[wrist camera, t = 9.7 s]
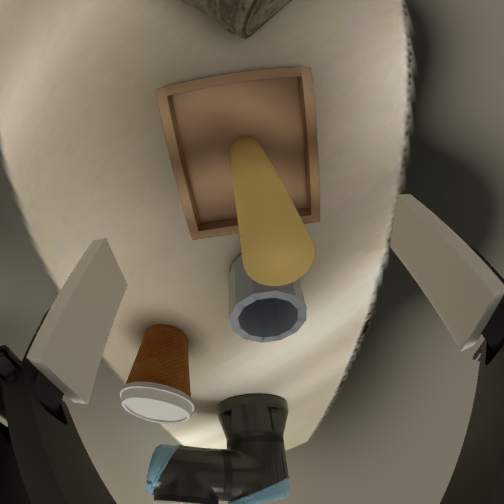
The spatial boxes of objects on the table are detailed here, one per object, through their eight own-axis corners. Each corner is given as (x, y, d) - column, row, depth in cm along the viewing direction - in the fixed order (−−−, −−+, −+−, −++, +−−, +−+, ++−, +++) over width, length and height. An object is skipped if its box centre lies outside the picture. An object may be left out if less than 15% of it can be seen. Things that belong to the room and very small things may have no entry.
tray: (313, 210, 27) (319, 221, 25) (195, 227, 27) (192, 240, 25) (303, 68, 19) (310, 66, 17) (162, 88, 19) (155, 89, 17)
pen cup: (294, 290, 33) (305, 335, 28) (235, 299, 33) (237, 345, 28) (291, 241, 29) (306, 285, 23) (224, 251, 29) (223, 297, 24)
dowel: (264, 164, 23) (314, 279, 11) (232, 169, 23) (248, 291, 11) (260, 134, 22) (315, 221, 10) (227, 139, 22) (237, 233, 10)
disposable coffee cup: (180, 310, 34) (168, 394, 24) (208, 351, 40) (206, 423, 30) (123, 322, 35) (102, 395, 25) (156, 359, 41) (146, 425, 31)
